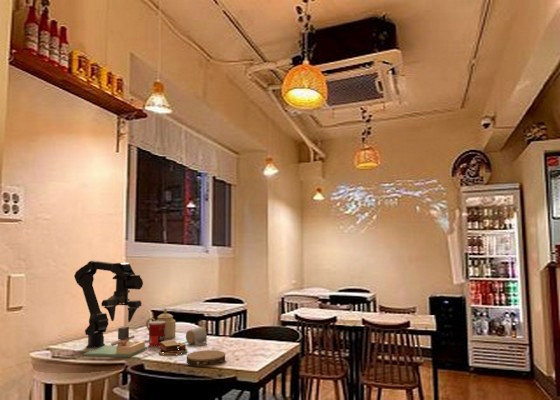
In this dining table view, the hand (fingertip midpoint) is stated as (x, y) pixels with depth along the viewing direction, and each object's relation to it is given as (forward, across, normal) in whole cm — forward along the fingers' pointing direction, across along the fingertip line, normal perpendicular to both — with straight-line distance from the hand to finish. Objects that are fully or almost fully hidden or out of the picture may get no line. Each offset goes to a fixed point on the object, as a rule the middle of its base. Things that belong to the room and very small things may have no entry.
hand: (120, 321), depth 216 cm
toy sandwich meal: (+12, +29, -3) cm, 32 cm away
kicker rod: (+11, +7, -7) cm, 15 cm away
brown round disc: (+12, +51, -15) cm, 55 cm away
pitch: (+13, +3, -7) cm, 15 cm away
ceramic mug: (+12, +33, +16) cm, 39 cm away
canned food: (+13, +14, +11) cm, 22 cm away
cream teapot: (+13, +7, +28) cm, 32 cm away
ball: (+9, +10, -7) cm, 16 cm away
